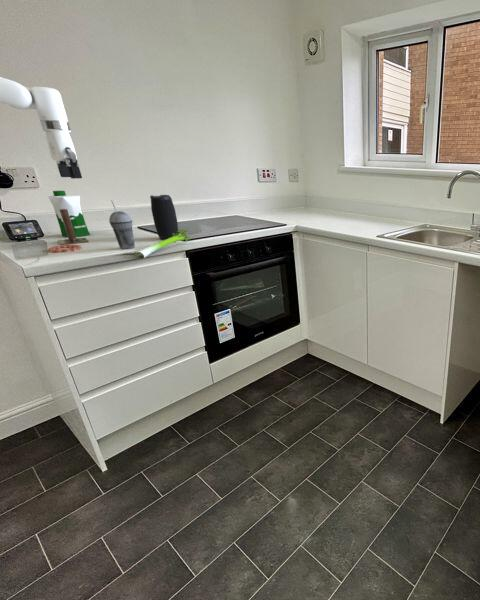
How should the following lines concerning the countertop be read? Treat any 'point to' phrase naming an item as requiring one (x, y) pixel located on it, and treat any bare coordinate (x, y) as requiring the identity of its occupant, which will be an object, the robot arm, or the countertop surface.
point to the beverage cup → (122, 229)
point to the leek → (164, 243)
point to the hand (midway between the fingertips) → (71, 177)
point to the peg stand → (69, 230)
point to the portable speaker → (164, 216)
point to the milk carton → (74, 210)
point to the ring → (59, 250)
